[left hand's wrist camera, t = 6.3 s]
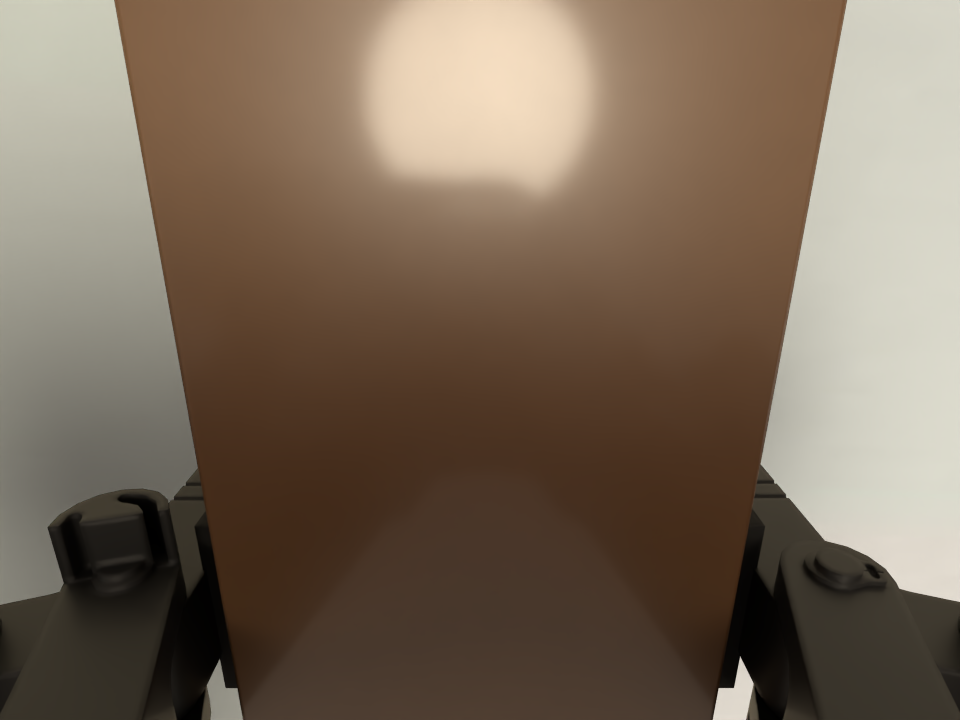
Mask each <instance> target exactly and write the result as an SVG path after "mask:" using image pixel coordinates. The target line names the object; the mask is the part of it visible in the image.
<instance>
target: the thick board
mask: <svg viewBox="0 0 960 720" xmlns="http://www.w3.org/2000/svg"><path fill="white" fill-rule="evenodd" d="M114 1H115V7H116V12H117V18H118V23H119V29H120V35H121V40H122V46H123V51H124V57H125V63H126V68H127V74H128V79H129V85H130V90H131V96H132V102H133V107H134V113H135V118H136V124H137V130H138V135H139V141H140V146H141V152H142V157H143V163H144V169H145V174H146V180H147V185H148V191H149V197H150V202H151V208H152V213H153V219H154V225H155V230H156V236H157V241H158V247H159V252H160V258H161V264H162V269H163V275H164V280H165V286H166V292H167V297H168V303H169V308H170V314H171V319H172V325H173V331H174V336H175V342H176V347H177V353H178V359H179V364H180V370H181V375H182V381H183V386H184V392H185V398H186V403H187V409H188V414H189V420H190V426H191V431H192V437H193V442H194V448H195V454H196V459H197V465H198V470H199V476H200V481H201V487H202V493H203V498H204V504H205V509H206V515H207V521H208V526H209V532H210V537H211V543H212V548H213V554H214V560H215V565H216V571H217V576H218V582H219V588H220V593H221V599H222V604H223V610H224V615H225V621H226V627H227V632H228V638H229V643H230V649H231V655H232V660H233V666H234V671H235V677H236V683H237V688H238V694H239V699H240V705H241V710H242V716H243V720H713V715H714V710H715V704H716V699H717V694H718V688H719V683H720V677H721V672H722V667H723V661H724V656H725V651H726V645H727V640H728V635H729V629H730V624H731V619H732V613H733V608H734V603H735V597H736V592H737V587H738V581H739V576H740V570H741V565H742V560H743V554H744V549H745V544H746V538H747V533H748V528H749V522H750V517H751V512H752V506H753V501H754V496H755V490H756V485H757V479H758V474H759V469H760V463H761V458H762V453H763V447H764V442H765V437H766V431H767V426H768V421H769V415H770V410H771V405H772V399H773V394H774V388H775V383H776V378H777V372H778V367H779V362H780V356H781V351H782V346H783V340H784V335H785V330H786V324H787V319H788V314H789V308H790V303H791V298H792V292H793V287H794V281H795V276H796V271H797V265H798V260H799V255H800V249H801V244H802V239H803V233H804V228H805V223H806V217H807V212H808V207H809V201H810V196H811V190H812V185H813V180H814V174H815V169H816V164H817V158H818V153H819V148H820V142H821V137H822V132H823V126H824V121H825V116H826V110H827V105H828V100H829V94H830V89H831V83H832V78H833V73H834V67H835V62H836V57H837V51H838V46H839V41H840V35H841V30H842V25H843V19H844V14H845V9H846V3H847V0H114Z"/></svg>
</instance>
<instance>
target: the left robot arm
mask: <svg viewBox="0 0 960 720" xmlns="http://www.w3.org/2000/svg"><path fill="white" fill-rule="evenodd" d="M48 530H49V534H50V537H51V541H52V544H53V547H54V551H55V554H56V558H57V561H58V564H59V568H60V571H61V575H62V578H63V581H64V584H63V586H62V589H61V591H60V592H58V593H54V594H50V595H46V596H41V597H36V598H31V599H27V600H22V601H17V602H12V603H7V604H3V605H0V720H210V717H211V708H210V700H209V695H208V690H207V683H208V681H209V679H210V677H211V675H212V673H213V671H214V669H215V667H216V665H217V663H218V661H219V659H220V661H221V666H222V671H223V677H224V682H225V687H226V688H237V683H236V677H235V671H234V666H233V660H232V655H231V649H230V643H229V638H228V632H227V627H226V621H225V615H224V610H223V604H222V599H221V593H220V588H219V582H218V576H217V571H216V565H215V560H214V554H213V548H212V543H211V537H210V532H209V526H208V521H207V515H206V509H205V504H204V498H203V493H202V487H201V481H200V476H199V470H198V469H197V470H196V471H195V473H194V474H193V475H192V476H191V477H190V479H189V480H188V481H187V482H186V486H183V487H182V488H181V489H180V490H179V492H178V493H177V494H176V495H175V496H174V500H171V501H170V502H169V503H168V499H167V498H166V497H164V496H163V495H162V494H160V493H159V492H156V491H151V490H146V489H128V490H119V491H115V492H110V493H106V494H101V495H98V496H96V497H93V498H91V499H88V500H85V501H83V502H80V503H78V504H76V505H75V506H73V507H71V508H70V509H68V510H67V511H65V512H63V513H62V514H60V515H59V516H58V517H57V518H56V519H55V520H54V521H53V522H52V523H51V524H50V525H49V527H48ZM740 657H741V659H742V661H743V663H744V665H745V667H746V669H747V671H748V673H749V675H750V677H751V679H752V681H753V683H754V685H753V690H752V695H751V699H750V704H749V709H748V714H747V719H746V720H960V602H957V601H952V600H947V599H942V598H937V597H932V596H928V595H923V594H918V593H913V592H909V591H905V590H902V589H899V587H898V585H897V583H896V582H895V580H894V579H893V578H892V577H891V575H890V574H889V573H888V572H887V570H886V569H885V568H884V567H882V566H881V565H879V564H878V563H877V562H875V561H874V560H872V559H871V558H870V557H868V556H866V555H864V554H862V553H860V552H858V551H855V550H853V549H851V548H849V547H846V546H843V545H839V544H835V543H831V542H827V541H824V539H823V538H822V537H821V536H820V535H819V533H818V532H817V531H816V530H815V529H814V527H813V526H812V525H811V524H810V523H809V521H808V520H807V519H806V518H805V517H804V516H803V514H802V513H801V512H800V511H799V510H798V508H797V507H796V506H795V505H794V504H793V502H792V501H791V500H790V499H789V498H786V494H785V493H784V492H783V491H782V489H781V488H780V487H779V486H778V485H777V484H774V480H773V479H772V477H771V476H770V475H769V474H768V473H767V472H766V470H765V469H764V468H763V467H762V466H761V464H760V469H759V474H758V479H757V485H756V490H755V496H754V501H753V506H752V512H751V517H750V522H749V528H748V533H747V538H746V544H745V549H744V554H743V560H742V565H741V570H740V576H739V581H738V587H737V592H736V597H735V603H734V608H733V613H732V619H731V624H730V629H729V635H728V640H727V645H726V651H725V656H724V661H723V667H722V672H721V677H720V683H719V688H734V685H735V680H736V674H737V669H738V664H739V659H740Z"/></svg>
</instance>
